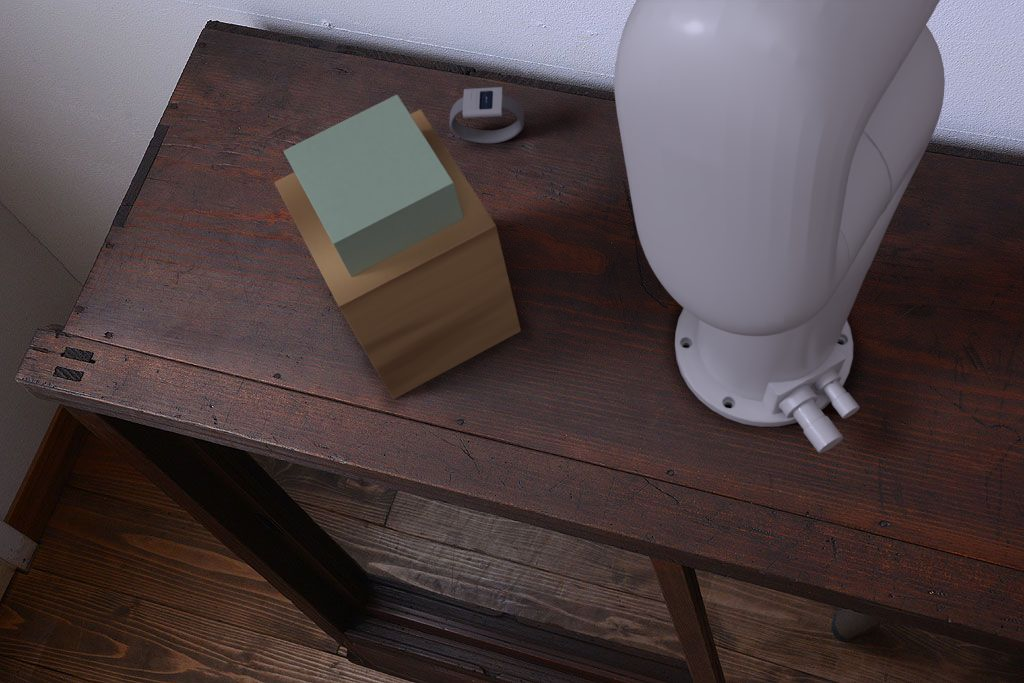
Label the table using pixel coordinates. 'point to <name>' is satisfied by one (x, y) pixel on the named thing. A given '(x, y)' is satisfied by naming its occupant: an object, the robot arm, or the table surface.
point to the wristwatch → (485, 115)
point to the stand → (419, 287)
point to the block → (375, 184)
